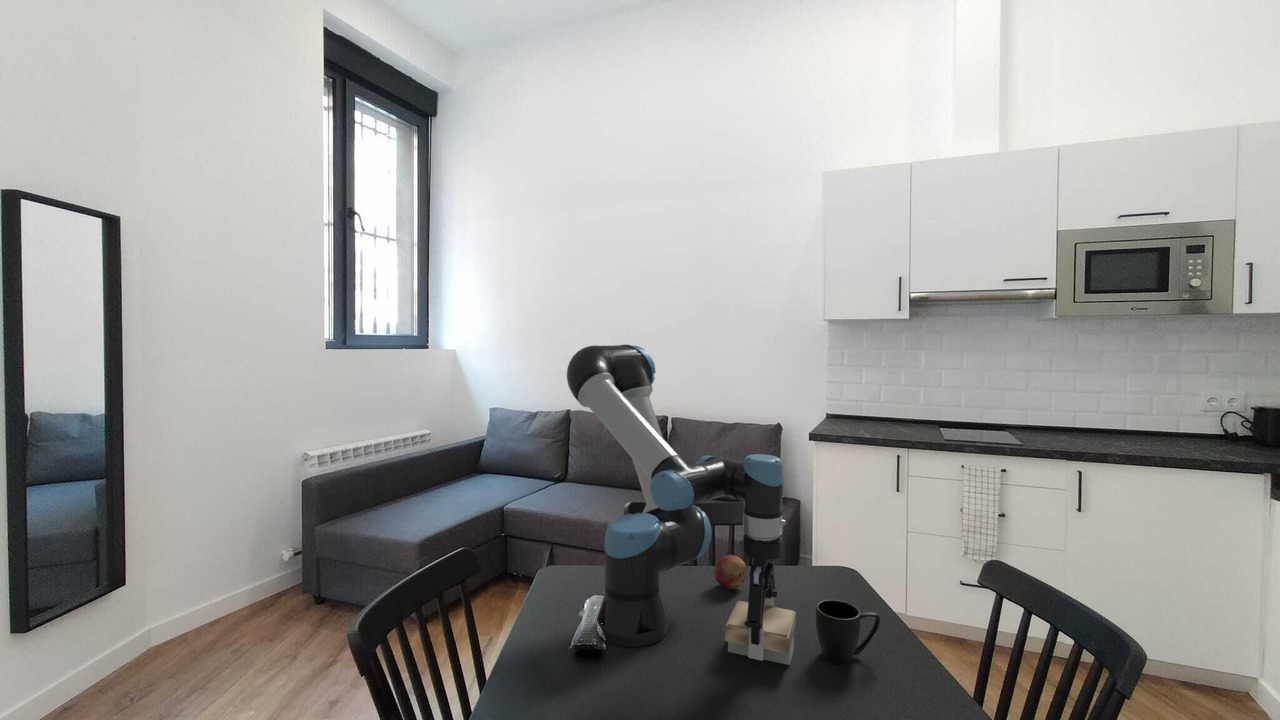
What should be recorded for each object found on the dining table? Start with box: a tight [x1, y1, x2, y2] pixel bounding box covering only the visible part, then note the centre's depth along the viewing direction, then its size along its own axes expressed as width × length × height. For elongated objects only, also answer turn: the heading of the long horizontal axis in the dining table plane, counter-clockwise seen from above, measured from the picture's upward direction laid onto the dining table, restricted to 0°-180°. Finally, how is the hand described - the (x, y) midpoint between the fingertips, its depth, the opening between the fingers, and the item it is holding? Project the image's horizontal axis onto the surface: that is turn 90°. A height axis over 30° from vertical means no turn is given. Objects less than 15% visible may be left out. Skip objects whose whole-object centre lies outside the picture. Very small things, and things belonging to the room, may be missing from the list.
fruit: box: [713, 554, 747, 590], centre depth 141 cm, size 8×8×8 cm
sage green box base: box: [727, 633, 795, 666], centre depth 114 cm, size 12×6×4 cm, turn 68°
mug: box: [815, 599, 881, 665], centre depth 111 cm, size 8×12×10 cm
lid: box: [724, 600, 797, 654], centre depth 114 cm, size 12×11×3 cm
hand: (761, 642), depth 114 cm, fingers closed on lid, 11 cm apart
